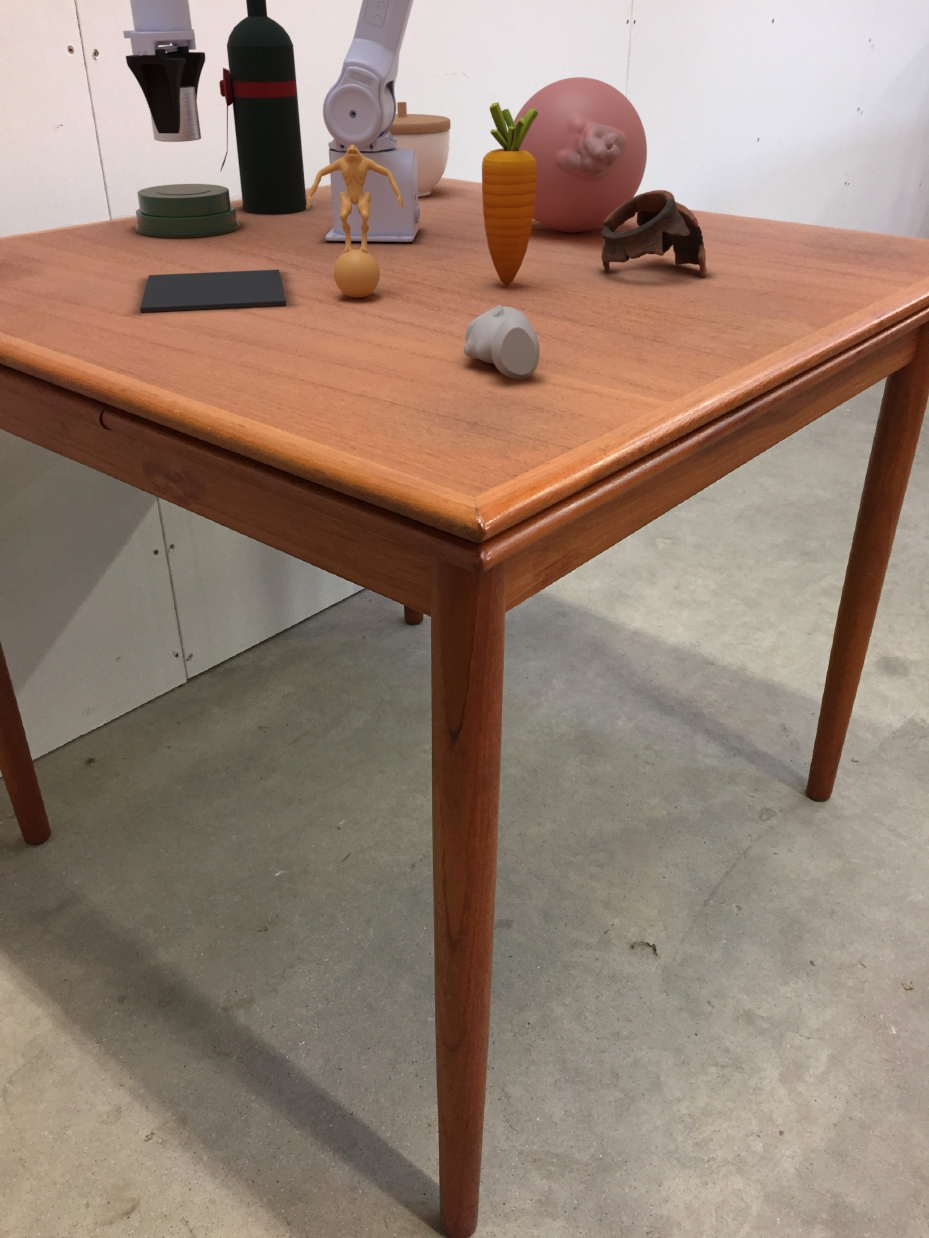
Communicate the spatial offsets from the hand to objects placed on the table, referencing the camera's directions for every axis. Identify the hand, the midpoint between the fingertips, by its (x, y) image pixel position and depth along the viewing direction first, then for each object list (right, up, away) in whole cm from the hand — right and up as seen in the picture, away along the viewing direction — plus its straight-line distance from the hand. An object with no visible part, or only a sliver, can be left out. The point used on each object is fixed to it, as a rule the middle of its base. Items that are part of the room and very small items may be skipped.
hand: (176, 130), depth 107 cm
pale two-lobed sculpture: (+33, -34, -36) cm, 60 cm away
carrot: (+35, -22, -15) cm, 44 cm away
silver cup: (0, -1, 0) cm, 1 cm away
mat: (+8, -23, -18) cm, 30 cm away
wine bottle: (+6, -1, +18) cm, 19 cm away
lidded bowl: (+23, +5, +29) cm, 37 cm away
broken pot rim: (+49, -19, -10) cm, 53 cm away
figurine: (+21, -24, -18) cm, 37 cm away
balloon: (+43, -10, +5) cm, 44 cm away
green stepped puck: (-1, -7, +8) cm, 11 cm away
